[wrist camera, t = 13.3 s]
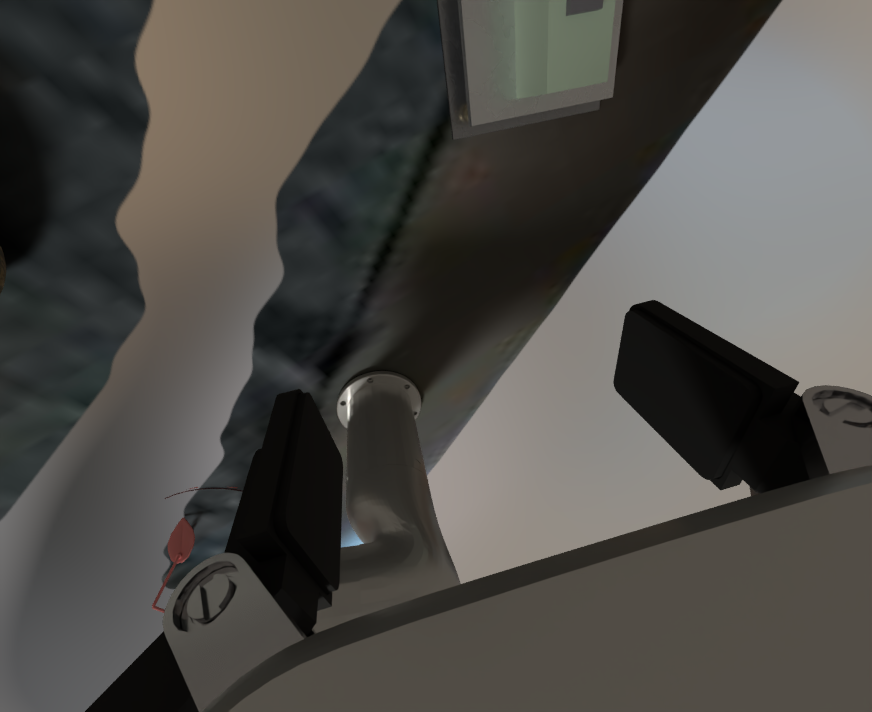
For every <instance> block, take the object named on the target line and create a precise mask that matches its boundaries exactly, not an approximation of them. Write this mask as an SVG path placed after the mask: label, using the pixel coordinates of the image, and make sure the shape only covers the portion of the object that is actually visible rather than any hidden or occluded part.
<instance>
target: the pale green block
mask: <svg viewBox="0 0 872 712" xmlns="http://www.w3.org/2000/svg"><path fill="white" fill-rule="evenodd" d="M514 1H515V48H516V96H517V99H520V98H526V97H532V96H537V95H543V94H549V93H554V92H559V91H564V90H569V89H574V88H579V87H584V86H589V85H594V84H599V83H604V82H607V81H608V71H609V61H610V51H611V41H612V31H613V21H614V11H615V1H616V0H514Z"/></svg>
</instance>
